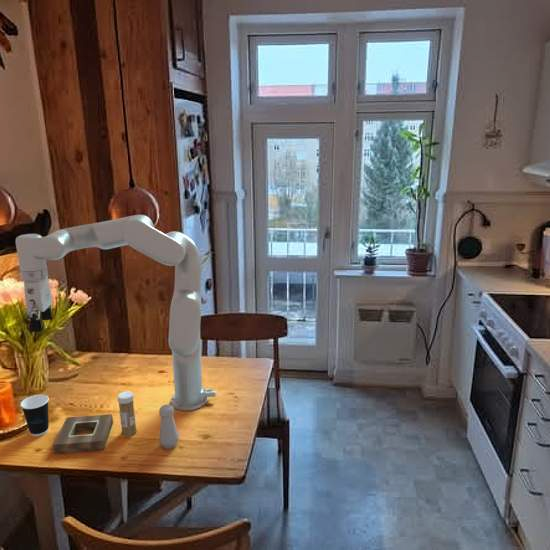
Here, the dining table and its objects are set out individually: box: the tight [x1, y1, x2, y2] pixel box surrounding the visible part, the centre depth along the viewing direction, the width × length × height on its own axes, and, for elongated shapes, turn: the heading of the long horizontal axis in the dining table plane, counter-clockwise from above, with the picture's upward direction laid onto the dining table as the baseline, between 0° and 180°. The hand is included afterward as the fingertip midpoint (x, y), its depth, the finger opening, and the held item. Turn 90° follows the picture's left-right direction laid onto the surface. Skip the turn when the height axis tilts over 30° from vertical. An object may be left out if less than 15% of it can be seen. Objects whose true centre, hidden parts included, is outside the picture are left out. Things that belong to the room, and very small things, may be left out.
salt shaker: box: [158, 404, 179, 450], centre depth 142 cm, size 6×6×13 cm
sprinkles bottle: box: [117, 390, 137, 437], centre depth 147 cm, size 5×5×13 cm
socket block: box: [52, 413, 114, 455], centre depth 146 cm, size 14×14×3 cm
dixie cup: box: [19, 394, 50, 438], centre depth 148 cm, size 8×8×11 cm
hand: (42, 325), depth 152 cm, fingers open, 9 cm apart
